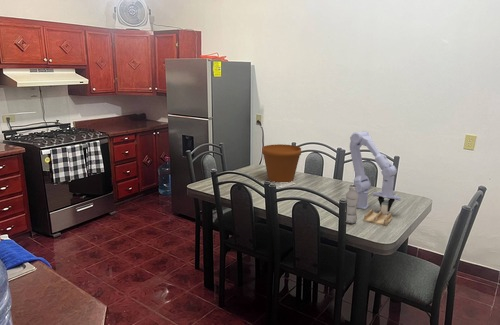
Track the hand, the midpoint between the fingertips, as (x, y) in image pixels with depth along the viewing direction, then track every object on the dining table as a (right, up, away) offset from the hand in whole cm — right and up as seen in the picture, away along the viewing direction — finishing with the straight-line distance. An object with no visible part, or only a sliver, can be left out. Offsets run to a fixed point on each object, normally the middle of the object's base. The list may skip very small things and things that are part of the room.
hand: (385, 210), depth 201 cm
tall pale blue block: (0, -2, 0) cm, 2 cm away
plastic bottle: (-23, -5, -12) cm, 26 cm away
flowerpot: (-53, +14, +65) cm, 85 cm away
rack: (-7, -4, -8) cm, 11 cm away
